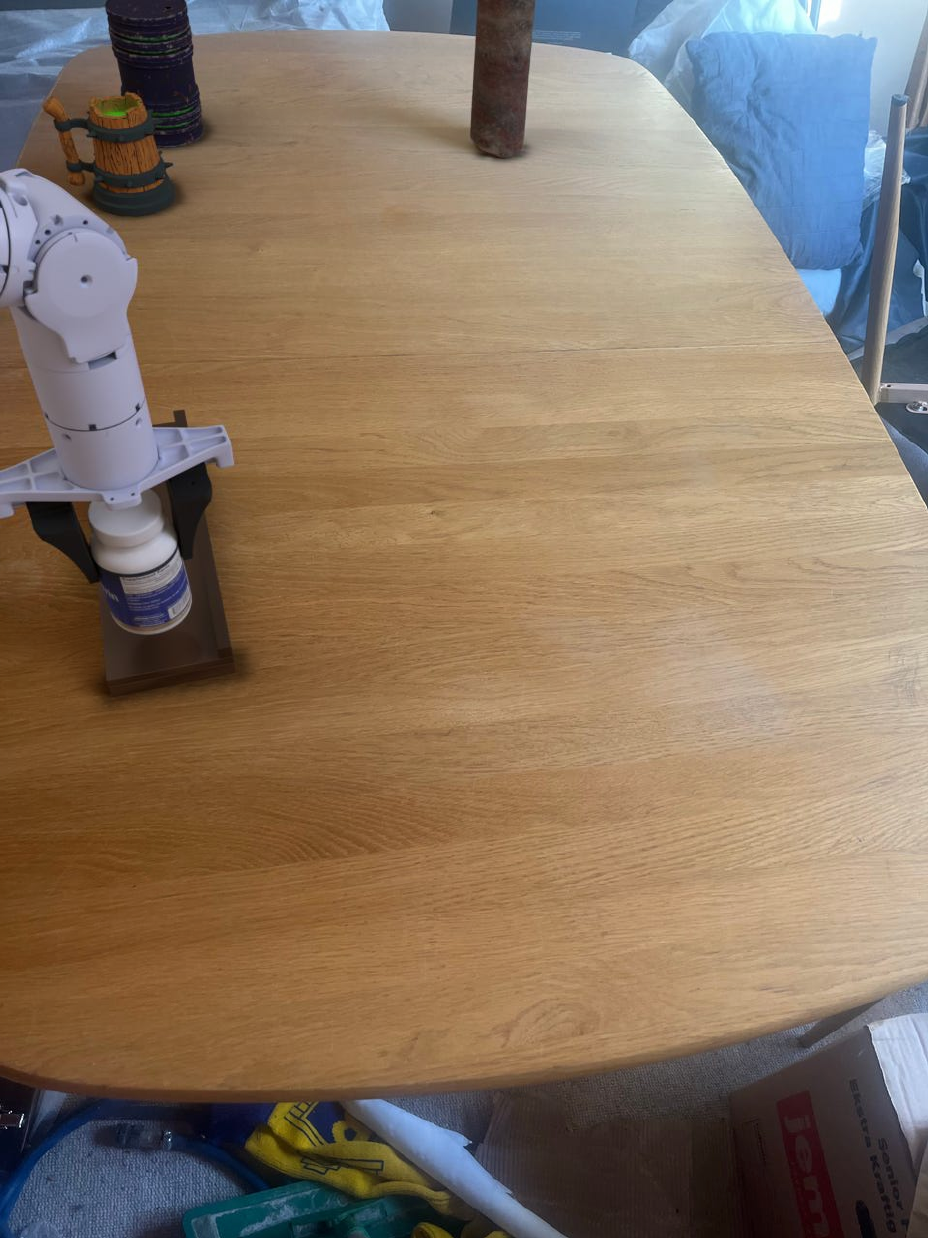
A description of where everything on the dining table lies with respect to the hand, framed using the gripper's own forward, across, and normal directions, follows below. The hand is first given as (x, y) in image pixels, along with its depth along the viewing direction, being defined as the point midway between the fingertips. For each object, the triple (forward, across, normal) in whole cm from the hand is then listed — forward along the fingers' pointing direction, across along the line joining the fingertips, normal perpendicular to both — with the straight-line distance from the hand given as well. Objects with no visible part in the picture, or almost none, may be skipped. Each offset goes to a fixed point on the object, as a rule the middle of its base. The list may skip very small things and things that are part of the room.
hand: (138, 561), depth 66 cm
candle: (+10, +61, +70) cm, 93 cm away
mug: (+10, +11, +70) cm, 71 cm away
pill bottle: (+5, 0, 0) cm, 5 cm away
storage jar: (+10, +20, +86) cm, 89 cm away
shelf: (+10, +2, +10) cm, 14 cm away
